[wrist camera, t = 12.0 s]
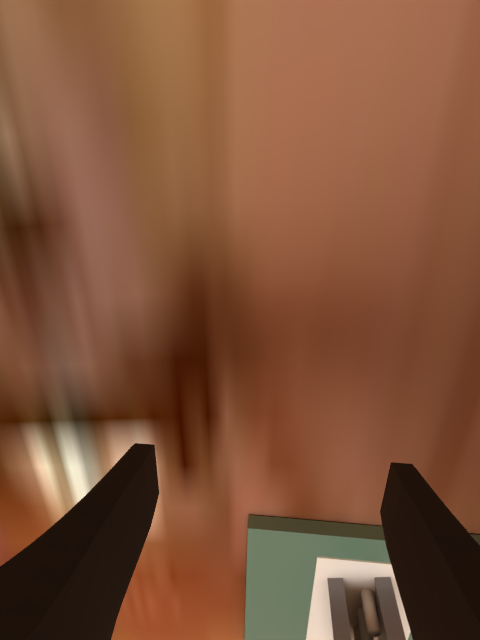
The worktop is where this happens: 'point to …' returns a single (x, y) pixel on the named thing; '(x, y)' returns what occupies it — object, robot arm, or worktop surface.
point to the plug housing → (385, 606)
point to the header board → (314, 578)
